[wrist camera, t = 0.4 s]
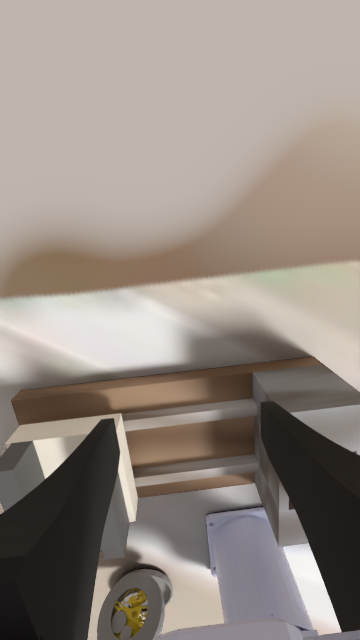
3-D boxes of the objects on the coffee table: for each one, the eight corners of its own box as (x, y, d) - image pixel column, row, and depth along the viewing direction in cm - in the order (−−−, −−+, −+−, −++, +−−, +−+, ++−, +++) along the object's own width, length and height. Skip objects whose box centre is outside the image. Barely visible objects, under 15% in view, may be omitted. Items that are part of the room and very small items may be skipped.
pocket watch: (147, 609, 32) (139, 765, 22) (92, 581, 30) (57, 738, 21) (192, 573, 31) (205, 724, 21) (138, 541, 29) (124, 691, 19)
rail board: (307, 462, 27) (355, 537, 20) (53, 494, 26) (15, 581, 19) (313, 356, 23) (373, 402, 16) (20, 390, 23) (-41, 452, 16)
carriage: (137, 498, 23) (131, 556, 19) (48, 509, 23) (21, 571, 19) (121, 413, 21) (109, 458, 16) (19, 425, 20) (-20, 473, 16)
